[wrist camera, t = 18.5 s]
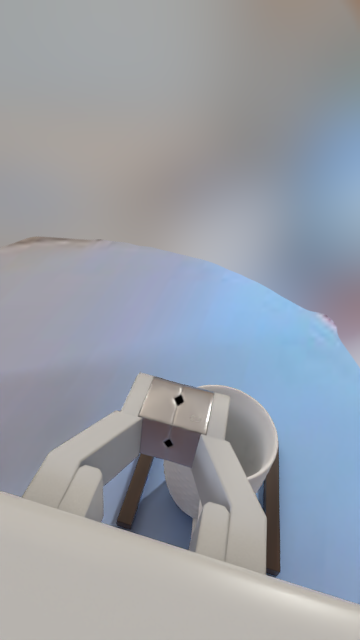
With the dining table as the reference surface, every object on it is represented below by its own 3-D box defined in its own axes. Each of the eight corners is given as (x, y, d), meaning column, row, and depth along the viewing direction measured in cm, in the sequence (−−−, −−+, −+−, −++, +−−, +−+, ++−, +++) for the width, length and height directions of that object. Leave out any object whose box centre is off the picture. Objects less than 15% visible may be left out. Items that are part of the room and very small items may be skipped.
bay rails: (116, 525, 36) (116, 520, 35) (156, 412, 48) (157, 407, 48) (276, 576, 34) (280, 572, 34) (275, 445, 47) (278, 440, 46)
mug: (244, 596, 33) (287, 548, 25) (137, 568, 33) (144, 512, 25) (247, 458, 44) (276, 395, 36) (167, 439, 45) (179, 374, 37)
